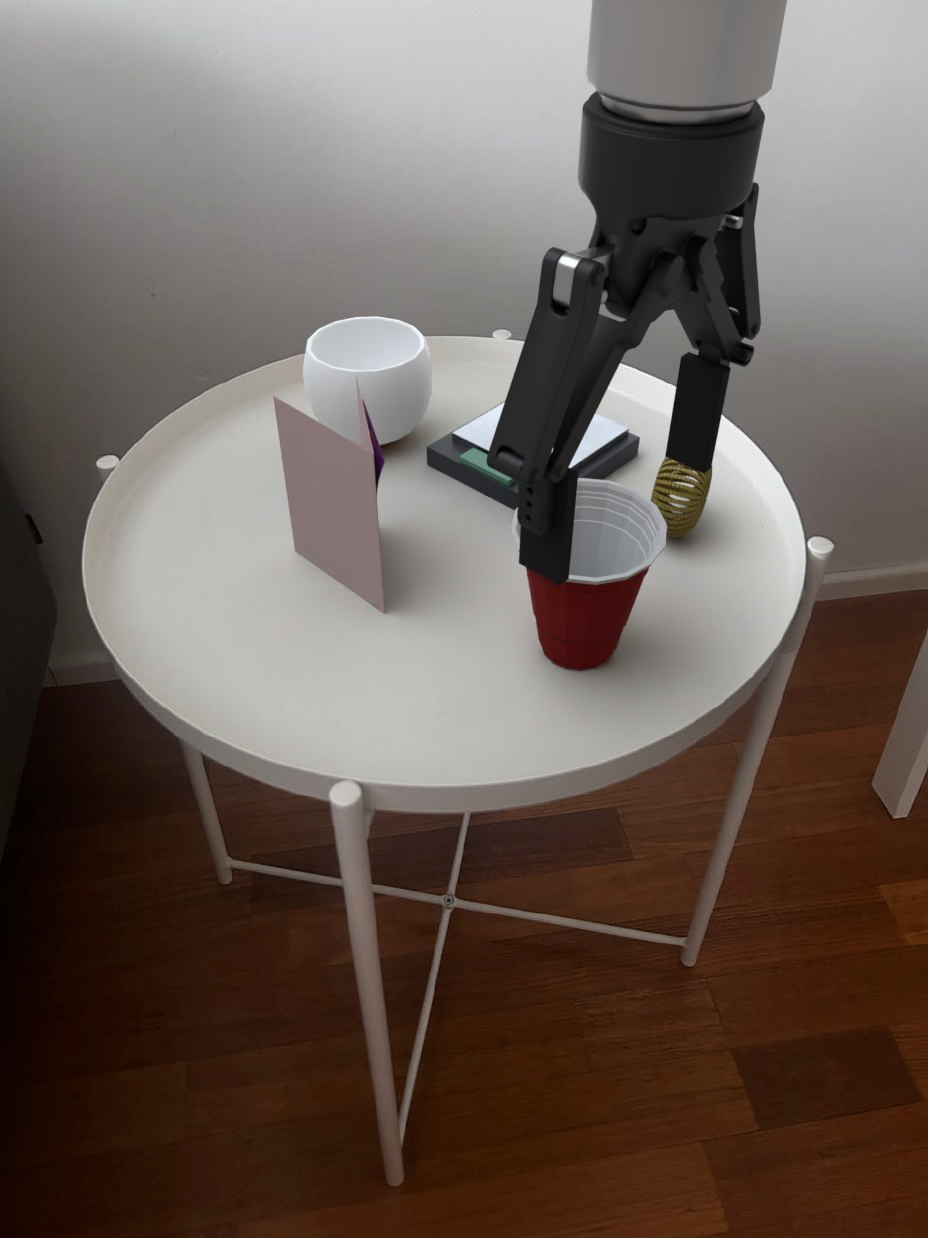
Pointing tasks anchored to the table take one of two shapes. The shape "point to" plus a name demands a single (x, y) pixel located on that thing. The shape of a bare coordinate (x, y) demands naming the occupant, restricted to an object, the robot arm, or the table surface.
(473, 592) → the table surface
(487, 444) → the scale
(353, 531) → the greeting card
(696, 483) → the sculpture
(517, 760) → the table surface
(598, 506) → the plastic cup
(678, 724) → the table surface
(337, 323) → the cup
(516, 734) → the table surface
